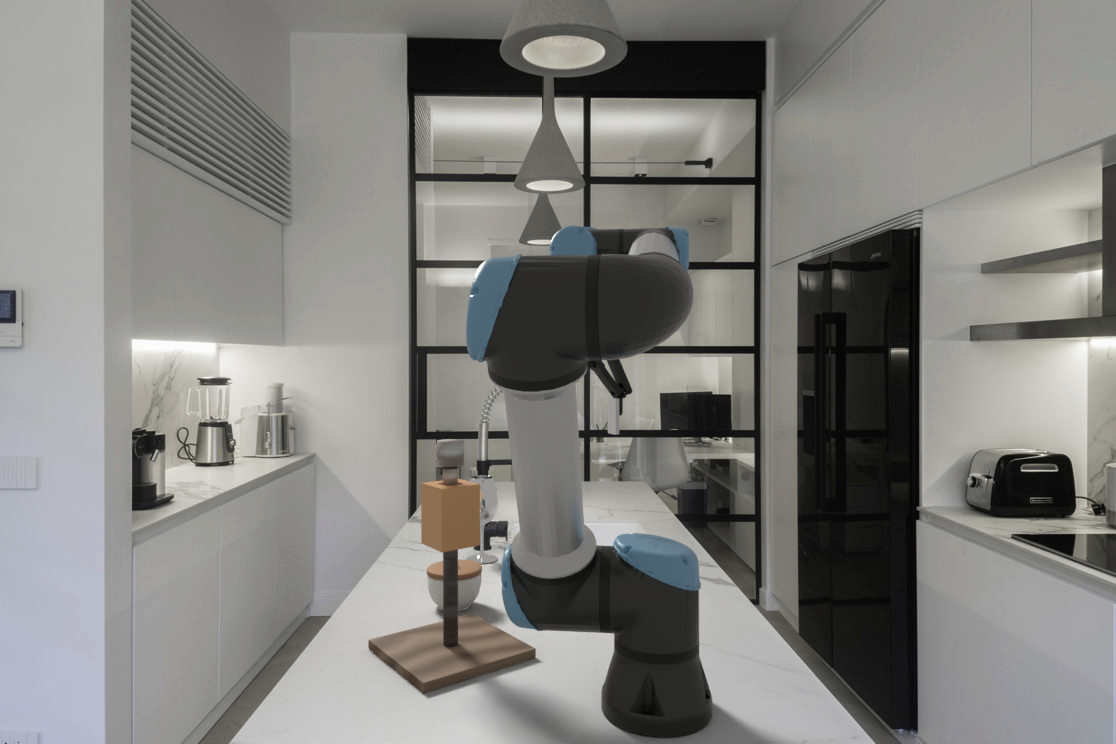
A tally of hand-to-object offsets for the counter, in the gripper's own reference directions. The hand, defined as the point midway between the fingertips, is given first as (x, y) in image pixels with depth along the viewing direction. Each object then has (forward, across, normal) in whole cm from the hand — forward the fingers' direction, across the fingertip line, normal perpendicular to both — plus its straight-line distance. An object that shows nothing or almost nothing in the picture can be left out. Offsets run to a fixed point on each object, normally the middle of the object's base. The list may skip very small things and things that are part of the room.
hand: (581, 435), depth 126 cm
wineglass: (+35, -1, -50) cm, 61 cm away
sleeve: (+17, +24, -1) cm, 29 cm away
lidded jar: (+35, +16, -22) cm, 44 cm away
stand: (+35, +24, -1) cm, 42 cm away
